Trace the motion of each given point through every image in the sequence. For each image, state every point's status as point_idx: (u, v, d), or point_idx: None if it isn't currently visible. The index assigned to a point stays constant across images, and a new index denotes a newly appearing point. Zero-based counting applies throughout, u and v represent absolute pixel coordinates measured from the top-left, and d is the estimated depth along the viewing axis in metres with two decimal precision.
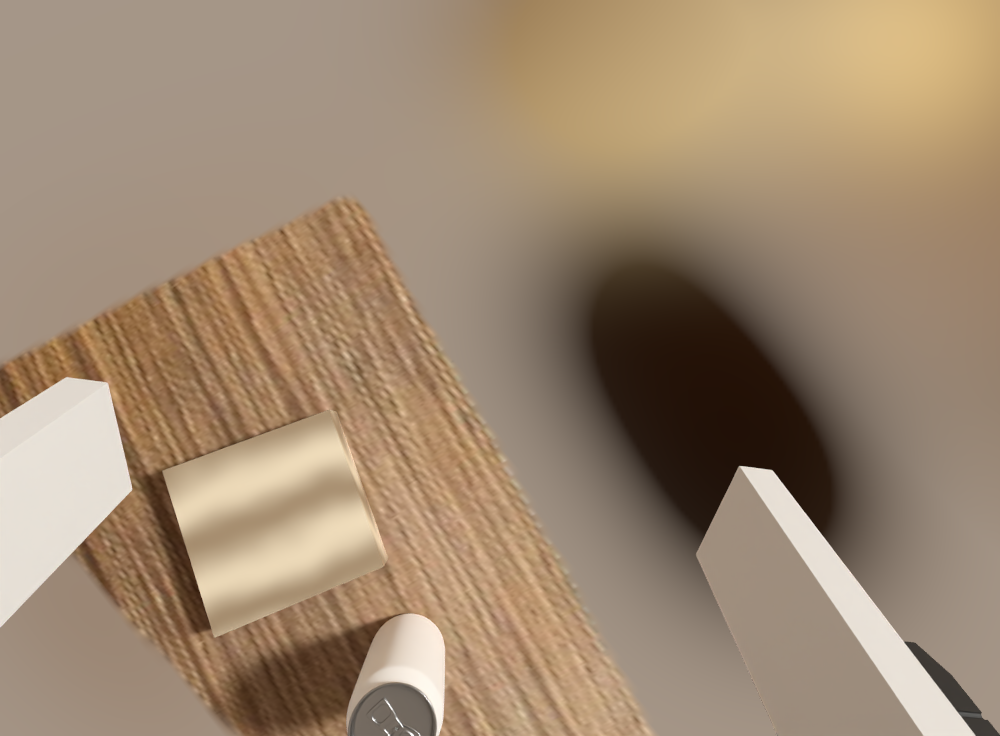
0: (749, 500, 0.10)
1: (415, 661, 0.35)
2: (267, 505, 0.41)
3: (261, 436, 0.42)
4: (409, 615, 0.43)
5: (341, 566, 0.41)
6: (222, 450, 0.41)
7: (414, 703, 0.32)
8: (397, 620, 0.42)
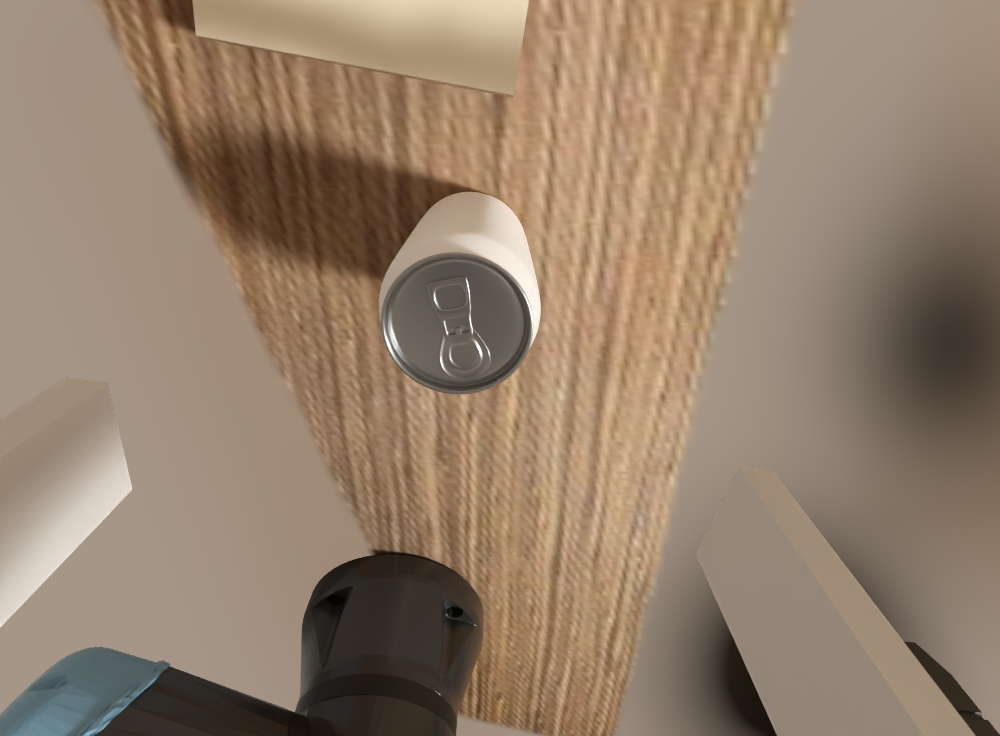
0: (749, 500, 0.10)
1: (524, 257, 0.19)
2: None
3: None
4: (501, 202, 0.27)
5: (447, 48, 0.22)
6: None
7: (506, 313, 0.18)
8: (485, 197, 0.26)
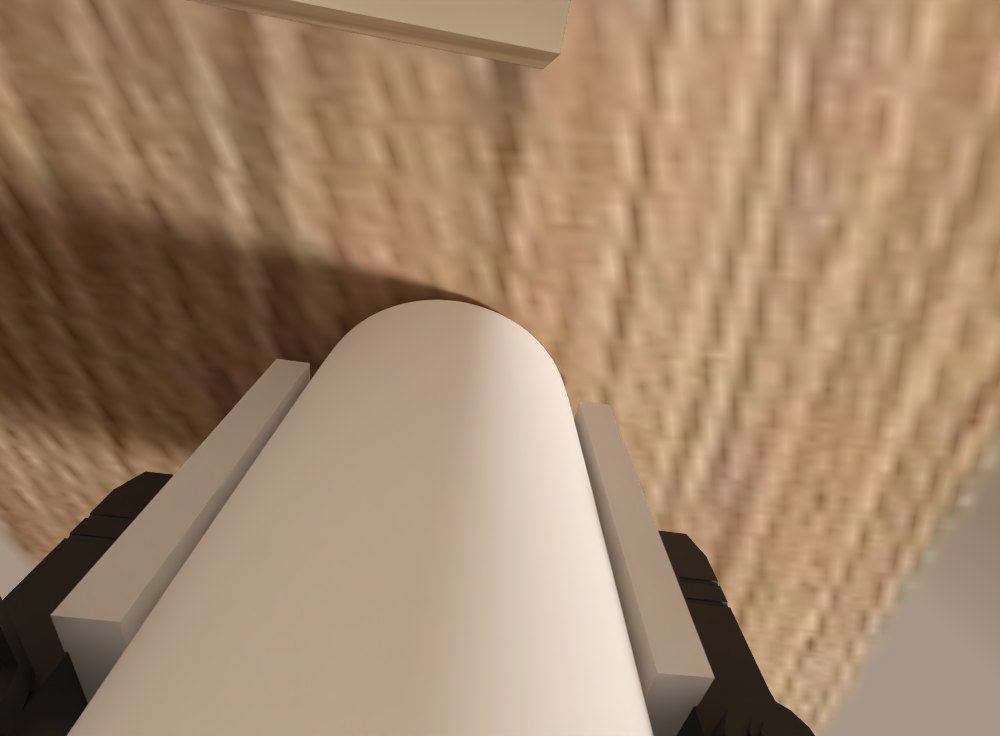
0: (581, 428, 0.11)
1: None
2: None
3: None
4: (512, 328, 0.11)
5: None
6: None
7: None
8: (472, 326, 0.10)
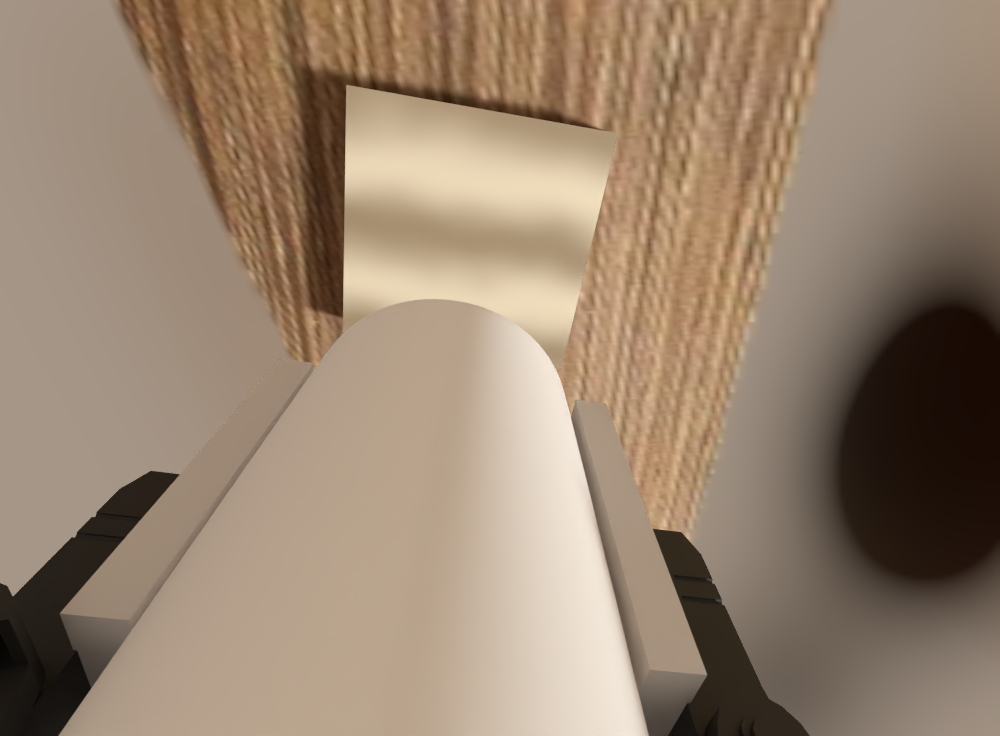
0: (577, 426, 0.11)
1: None
2: (467, 222, 0.28)
3: (506, 117, 0.25)
4: (509, 327, 0.11)
5: None
6: (443, 105, 0.25)
7: None
8: (468, 325, 0.10)
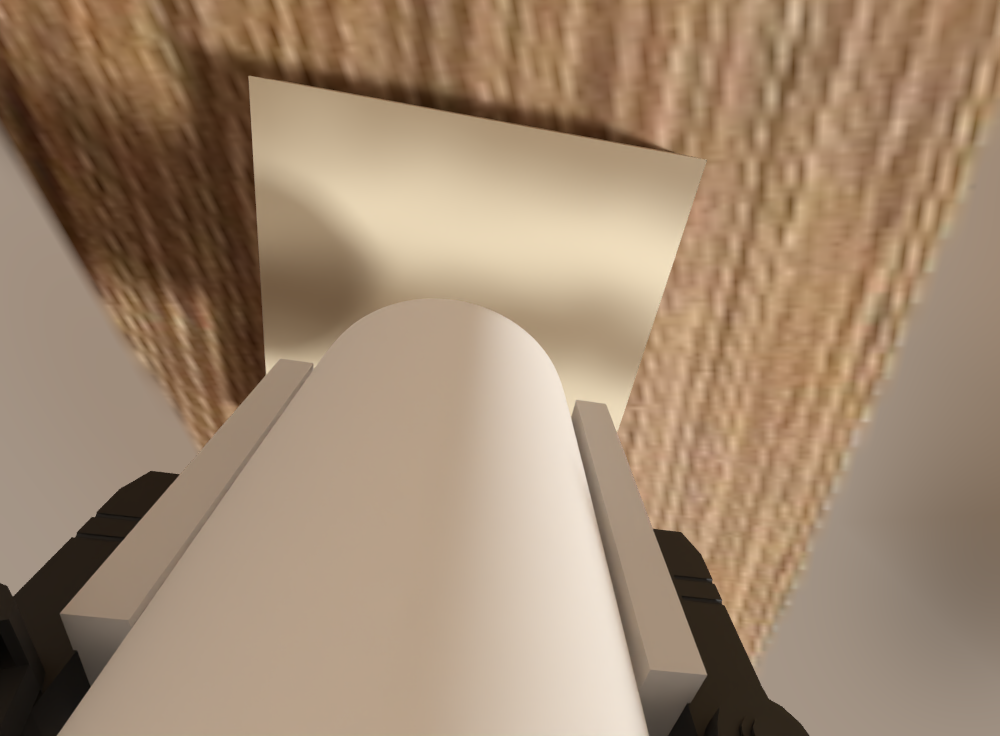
0: (577, 427, 0.11)
1: None
2: (457, 297, 0.17)
3: (522, 132, 0.15)
4: (509, 326, 0.11)
5: None
6: (415, 111, 0.15)
7: None
8: (468, 324, 0.10)
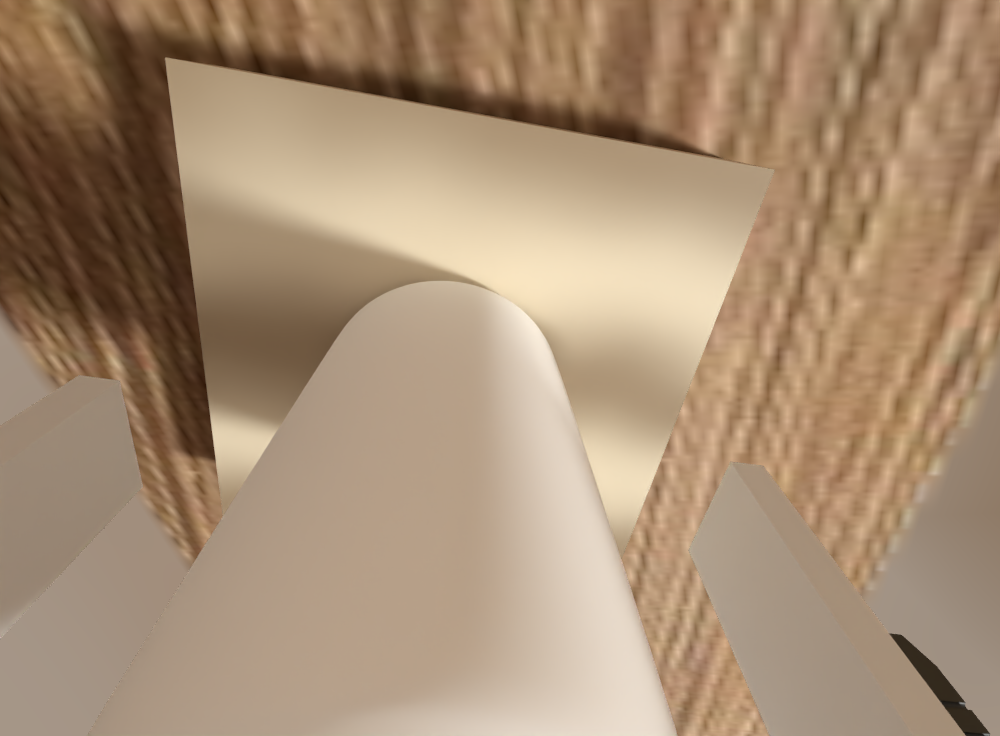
0: (740, 495, 0.10)
1: (633, 653, 0.05)
2: None
3: (532, 133, 0.11)
4: (508, 305, 0.12)
5: None
6: (391, 106, 0.11)
7: None
8: (473, 301, 0.11)
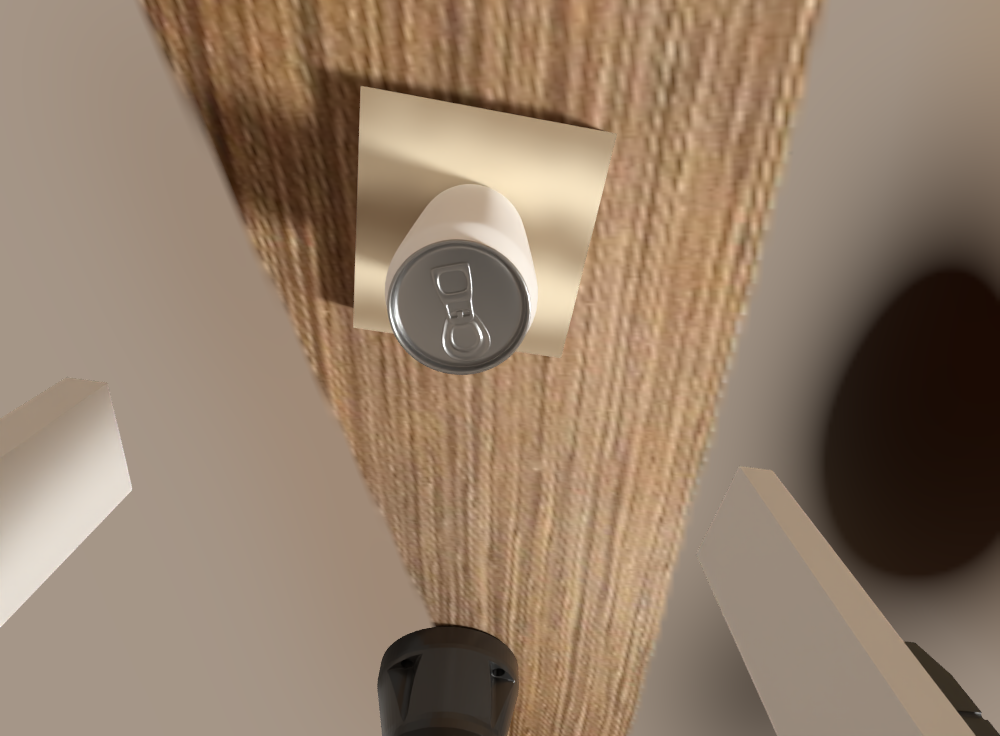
0: (749, 500, 0.10)
1: (523, 246, 0.21)
2: None
3: (511, 117, 0.27)
4: (501, 194, 0.28)
5: None
6: (452, 105, 0.27)
7: (506, 297, 0.19)
8: (485, 189, 0.27)
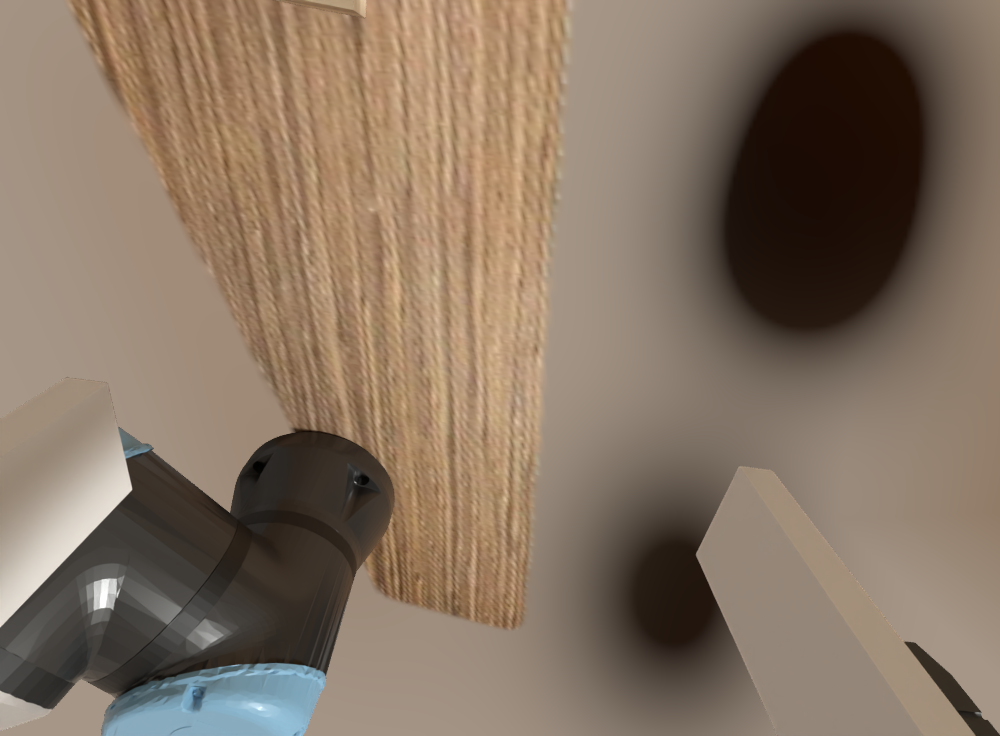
0: (749, 500, 0.10)
1: None
2: None
3: None
4: None
5: None
6: None
7: None
8: None
